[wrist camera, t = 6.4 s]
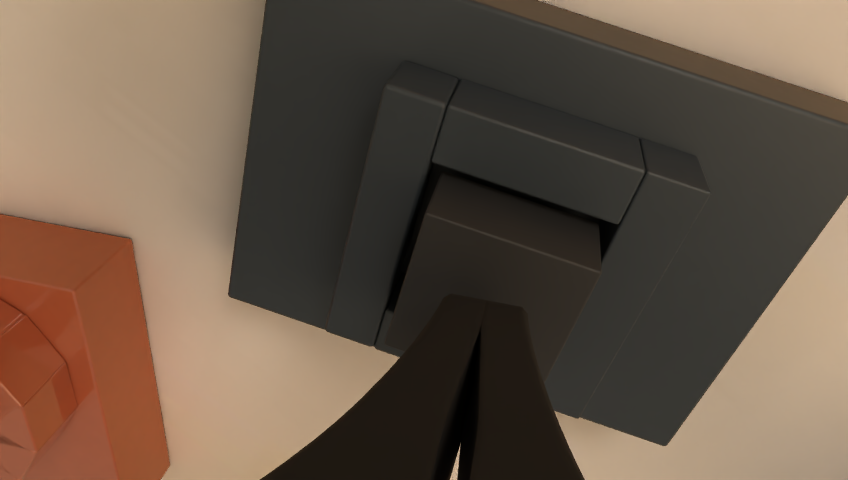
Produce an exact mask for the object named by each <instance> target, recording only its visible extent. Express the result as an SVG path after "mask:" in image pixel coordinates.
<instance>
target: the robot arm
mask: <svg viewBox="0 0 848 480" xmlns="http://www.w3.org/2000/svg"><path fill="white" fill-rule="evenodd" d="M460 443H461V446H460ZM459 446H460V457H459V468H458V480H585V479H584V477H583V475H582V473H581V471H580V469H579V467H578V465H577V463H576V461H575V459H574V457H573V455H572V452H571V450H570V448H569V446H568V443H567V441H566V439H565V436H564V434H563V432H562V430H561V427H560V425H559V422H558V420H557V417H556V415H555V412H554V410H553V407H552V404H551V402H550V399H549V396H548V393H547V390H546V387H545V384H544V382H543V379H542V376H541V373H540V369H539V366H538V363H537V359H536V355H535V351H534V348H533V344H532V339H531V334H530V329H529V322H528V314H527V312H526V311H525V310H524V308H523V307H520V306H514V305H509V304H504V303H499V302H493V301H488V300H483V299H478V298H472V297H467V296H462V295H457V294H449V295H447V296H445V297H444V298H443V300H442V301H441V303H440V305H439V307H438V308H437V310H436V312H435V313H434V315H433V316H432V318H431V319H430V321H429V322H428V323H427V325H426V326H425V327H424V329H423V330H422V331H421V333H420V334H419V335H418V337H417V338H416V339H415V340H414V342H413V343H412V344H411V345H410V346H409V348H408V349H407V350H406V351H405V352H404V353H403V355H402V356H401V357H400V358H399V359H398V361H397V362H396V363H395V364H394V365H393V366H392V367H391V368H390V370H389V371H388V372H387V373H386V374H385V375H384V376H383V377H382V378H381V379H380V380H379V381H378V382H377V383H376V384H375V385H374V386H373V387H372V388H371V389H370V390H369V391H368V392H367V393H366V394H365V395H364V396H363V397H362V398H361V399H360V400H359V401H358V402H357V403H356V404H355V405H354V406H353V407H352V408H351V409H350V410H348V411H347V412H346V413H345V414H344V415H343V416H342V417H341V418H340V419H338V420H337V421H336V422H335V423H334V424H333V425H331V426H330V427H329V428H328V429H327V430H325V431H324V432H323V433H322V434H321V435H320V436H318V437H317V438H316V439H315V440H313V441H312V442H311V443H309V444H308V445H307V446H305V447H304V448H303V449H301V450H300V451H299V452H298V453H296V454H295V455H294V456H292V457H291V458H290V459H288V460H287V461H286V462H284V463H283V464H282V465H280V466H279V467H277V468H276V469H275V470H273V471H272V472H270V473H269V474H267V475H266V476H264V477H263V478H262V479H260V480H450V477H451V474H452V470H453V467H454V463H455V460H456V457H457V453H458V450H459Z"/></svg>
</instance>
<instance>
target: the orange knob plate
mask: <svg viewBox="0 0 848 480" xmlns="http://www.w3.org/2000/svg"><path fill="white" fill-rule="evenodd" d="M169 466H170V461H169V455H168V449H167V443H166V438H165V432H164V426H163V420H162V414H161V408H160V403H159V397H158V391H157V385H156V379H155V373H154V368H153V362H152V356H151V350H150V344H149V338H148V333H147V327H146V321H145V315H144V309H143V303H142V298H141V292H140V286H139V280H138V274H137V268H136V263H135V257H134V251H133V245H132V240H131V239H128V238H123V237H118V236H113V235H107V234H102V233H97V232H92V231H86V230H81V229H76V228H71V227H66V226H60V225H55V224H50V223H45V222H39V221H34V220H29V219H24V218H19V217H13V216H8V215H3V214H0V480H161V479H162V477H163V475H164V474H165V472H166V471H167V469H168V468H169Z"/></svg>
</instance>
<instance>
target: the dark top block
mask: <svg viewBox="0 0 848 480" xmlns="http://www.w3.org/2000/svg"><path fill="white" fill-rule="evenodd" d="M601 274H602V269H601V252H600V234H599V224H598V223H595V222H592V221H589V220H586V219H583V218H580V217H577V216H574V215H572V214H569V213H566V212H563V211H560V210H557V209H554V208H551V207H548V206H545V205H542V204H539V203H536V202H533V201H530V200H527V199H524V198H521V197H518V196H515V195H512V194H509V193H506V192H503V191H500V190H497V189H494V188H491V187H488V186H485V185H482V184H479V183H476V182H473V181H470V180H467V179H465V178H462V177H459V176H456V175H453V174H450V173H447V172H442V173H441V175H440V178H439V180H438V183H437V185H436V188H435V190H434V193H433V195H432V198H431V200H430V202H429V205H428V207H427V210H426V212H425V215H424V218H423V222H422V225H421V228H420V231H419V234H418V237H417V241H416V244H415V247H414V250H413V253H412V256H411V260H410V263H409V266H408V269H407V272H406V275H405V279H404V282H403V285H402V288H401V291H400V295H399V298H398V301H397V304H396V307H395V310H394V314H393V317H392V320H391V323H390V326H389V329H388V333H387V336H386V339H385V345H386V346H389V347H392V348H395V349H398V350H400V351H403V352H405V351H406V350H407V349H408V348H409V346H410V345H411V344H412V343H413V342H414V340H415V339H416V338H417V337H418V335H419V334H420V333H421V331H422V330H423V329H424V327H425V326H426V325H427V323H428V322H429V321H430V319H431V318H432V316H433V315H434V313H435V312H436V310H437V308H438V307H439V305H440V303H441V301H442V300H443V298H444V297H445V296H447V295H449V294H457V295H462V296H467V297H472V298H478V299H483V300H488V301H493V302H499V303H504V304H509V305H514V306H520V307H523V308H524V310H525V311H526V312H527V314H528V322H529V329H530V334H531V339H532V344H533V348H534V351H535V355H536V359H537V363H538V366H539V369H540V373H541V376H542V379H543V382H544V383H545V381H546V379H547V377H548V375H549V373H550V371H551V370H552V368H553V366H554V364H555V362H556V360H557V358H558V356H559V354H560V352H561V350H562V349H563V347H564V345H565V343H566V341H567V339H568V337H569V335H570V333H571V331H572V329H573V327H574V326H575V324H576V322H577V320H578V318H579V316H580V314H581V312H582V310H583V308H584V306H585V304H586V303H587V301H588V299H589V297H590V295H591V293H592V291H593V289H594V287H595V285H596V283H597V281H598V280H599V278H600V276H601Z"/></svg>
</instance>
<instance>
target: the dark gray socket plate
mask: <svg viewBox="0 0 848 480" xmlns="http://www.w3.org/2000/svg"><path fill="white" fill-rule="evenodd" d="M442 172H447V173H450V174H453V175H456V176H459V177H462V178H465V179H467V180H470V181H473V182H476V183H479V184H482V185H485V186H488V187H491V188H494V189H497V190H500V191H503V192H506V193H509V194H512V195H515V196H518V197H521V198H524V199H527V200H530V201H533V202H536V203H539V204H542V205H545V206H548V207H551V208H554V209H557V210H560V211H563V212H566V213H569V214H572V215H574V216H577V217H580V218H583V219H586V220H589V221H592V222H595V223H598V224H599V234H600V252H601V269H602V274H601V276H600V278H599V280H598V281H597V283H596V285H595V287H594V289H593V291H592V293H591V295H590V297H589V299H588V301H587V303H586V304H585V306H584V308H583V310H582V312H581V314H580V316H579V318H578V320H577V322H576V324H575V326H574V327H573V329H572V331H571V333H570V335H569V337H568V339H567V341H566V343H565V345H564V347H563V349H562V350H561V352H560V354H559V356H558V358H557V360H556V362H555V364H554V366H553V368H552V370H551V371H550V373H549V375H548V377H547V379H546V381H545V383H544V384H545V387H546V390H547V393H548V396H549V399H550V402H551V404H552V407H553V410H554V411H557V412H560V413H562V414H565V415H568V416H571V417H574V418H579V417H580V418H583V419H586V420H589V421H592V422H595V423H598V424H601V425H604V426H607V427H610V428H612V429H615V430H618V431H621V432H624V433H627V434H630V435H633V436H636V437H639V438H642V439H644V440H647V441H650V442H653V443H656V444H659V445H662V446H666V445H668V443H669V442H670V440H671V439H672V438H673V436H674V435H675V433H676V432H677V431H678V429H679V428H680V427H681V425H682V424H683V422H684V421H685V420H686V418H687V417H688V416H689V414H690V413H691V411H692V410H693V409H694V407H695V406H696V404H697V403H698V402H699V400H700V399H701V398H702V396H703V395H704V393H705V392H706V391H707V389H708V388H709V386H710V385H711V384H712V382H713V381H714V380H715V378H716V377H717V375H718V374H719V373H720V371H721V370H722V369H723V367H724V366H725V364H726V363H727V362H728V360H729V359H730V357H731V356H732V355H733V353H734V352H735V351H736V349H737V348H738V346H739V345H740V344H741V342H742V341H743V339H744V338H745V337H746V335H747V334H748V333H749V331H750V330H751V328H752V327H753V326H754V324H755V323H756V322H757V320H758V319H759V317H760V316H761V315H762V313H763V312H764V310H765V309H766V308H767V306H768V305H769V304H770V302H771V301H772V299H773V298H774V297H775V295H776V294H777V292H778V291H779V290H780V288H781V287H782V286H783V284H784V283H785V281H786V280H787V279H788V277H789V276H790V275H791V273H792V272H793V270H794V269H795V268H796V266H797V265H798V263H799V262H800V261H801V259H802V258H803V257H804V255H805V254H806V252H807V251H808V250H809V248H810V247H811V245H812V244H813V243H814V241H815V240H816V239H817V237H818V236H819V234H820V233H821V232H822V230H823V229H824V228H825V226H826V225H827V223H828V222H829V221H830V219H831V218H832V216H833V215H834V214H835V212H836V211H837V210H838V208H839V207H840V205H841V204H842V203H843V201H844V200H845V198H846V197H847V196H848V103H847V102H844V101H841V100H838V99H835V98H832V97H829V96H826V95H823V94H820V93H817V92H814V91H811V90H808V89H805V88H802V87H799V86H796V85H792V84H789V83H786V82H783V81H780V80H777V79H774V78H771V77H768V76H765V75H762V74H759V73H756V72H753V71H750V70H747V69H744V68H741V67H738V66H735V65H732V64H729V63H726V62H723V61H720V60H716V59H713V58H710V57H707V56H704V55H701V54H698V53H695V52H692V51H689V50H686V49H683V48H680V47H677V46H674V45H671V44H668V43H665V42H662V41H659V40H656V39H653V38H650V37H647V36H643V35H640V34H637V33H634V32H631V31H628V30H625V29H622V28H619V27H616V26H613V25H610V24H607V23H604V22H601V21H598V20H595V19H592V18H589V17H586V16H583V15H580V14H577V13H574V12H571V11H567V10H564V9H561V8H558V7H555V6H552V5H549V4H546V3H543V2H540V1H537V0H266V4H265V12H264V20H263V27H262V35H261V43H260V51H259V58H258V66H257V74H256V82H255V90H254V97H253V105H252V113H251V121H250V128H249V136H248V144H247V152H246V159H245V167H244V175H243V183H242V190H241V198H240V206H239V214H238V221H237V229H236V237H235V245H234V252H233V260H232V268H231V276H230V283H229V291H228V295H229V296H230V297H231V298H234V299H237V300H240V301H243V302H246V303H249V304H252V305H255V306H258V307H261V308H263V309H266V310H269V311H272V312H275V313H278V314H281V315H284V316H287V317H290V318H293V319H295V320H298V321H301V322H304V323H307V324H310V325H313V326H316V327H319V328H322V329H324V330H326V331H327V332H329V333H332V334H335V335H338V336H341V337H344V338H347V339H350V340H353V341H356V342H358V343H361V344H364V345H367V346H374V347H375V348H376V349H378V350H381V351H383V352H386V353H389V354H392V355H395V356H398V357H401V356H402V355H403V353H404V352H403V351H400V350H398V349H395V348H392V347H389V346H386V345H385V339H386V336H387V333H388V329H389V326H390V323H391V320H392V317H393V314H394V310H395V307H396V304H397V301H398V298H399V295H400V291H401V288H402V285H403V282H404V279H405V275H406V272H407V269H408V266H409V263H410V260H411V256H412V253H413V250H414V247H415V244H416V241H417V237H418V234H419V231H420V228H421V225H422V222H423V218H424V215H425V212H426V210H427V207H428V205H429V202H430V200H431V198H432V195H433V193H434V190H435V188H436V185H437V183H438V180H439V178H440V175H441V173H442Z"/></svg>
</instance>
